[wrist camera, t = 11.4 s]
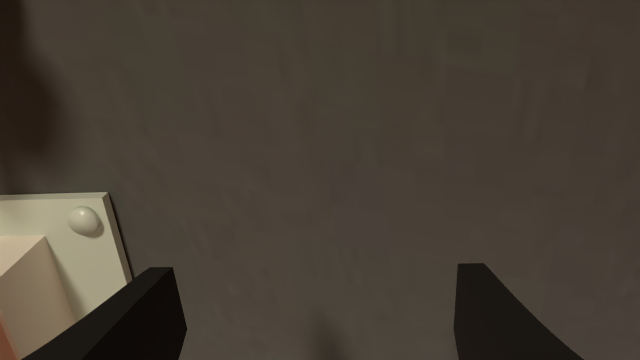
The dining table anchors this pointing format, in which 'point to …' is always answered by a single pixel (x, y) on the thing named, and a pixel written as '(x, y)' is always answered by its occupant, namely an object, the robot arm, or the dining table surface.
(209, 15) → the dining table surface
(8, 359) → the top brick
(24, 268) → the bottom brick
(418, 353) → the dining table surface
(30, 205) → the baseplate
